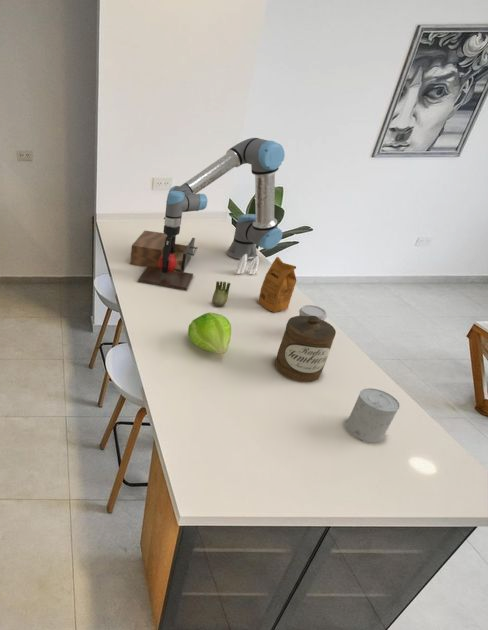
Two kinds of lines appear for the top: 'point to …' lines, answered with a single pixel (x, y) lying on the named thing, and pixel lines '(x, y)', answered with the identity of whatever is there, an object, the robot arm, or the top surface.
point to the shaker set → (252, 267)
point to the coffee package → (278, 286)
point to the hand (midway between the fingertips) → (166, 268)
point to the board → (166, 278)
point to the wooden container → (304, 348)
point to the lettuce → (211, 332)
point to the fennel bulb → (220, 294)
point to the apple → (171, 263)
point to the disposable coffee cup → (313, 311)
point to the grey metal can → (372, 415)
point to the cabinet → (148, 249)
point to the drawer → (183, 254)
